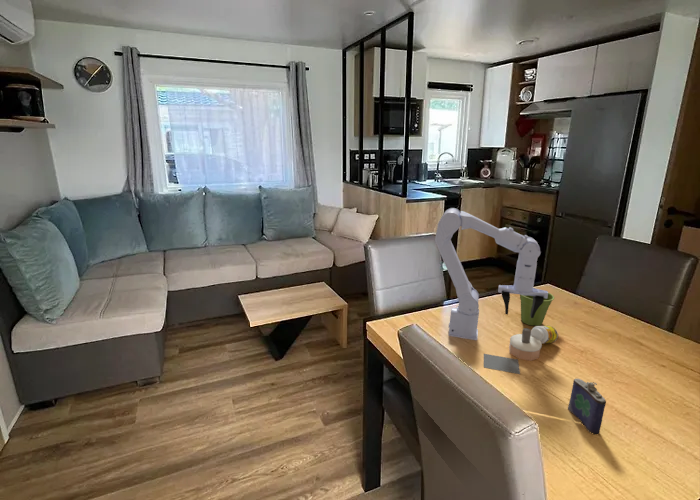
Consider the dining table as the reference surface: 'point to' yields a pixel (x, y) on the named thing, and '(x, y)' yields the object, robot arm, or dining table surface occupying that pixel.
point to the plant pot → (540, 313)
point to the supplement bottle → (545, 334)
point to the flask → (587, 405)
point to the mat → (501, 363)
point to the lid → (525, 341)
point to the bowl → (523, 353)
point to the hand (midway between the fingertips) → (519, 314)
